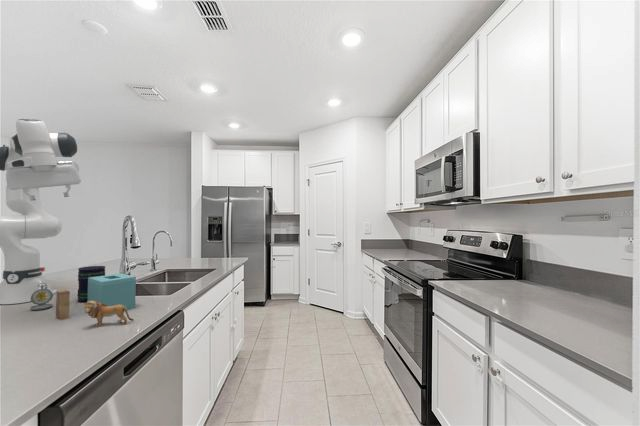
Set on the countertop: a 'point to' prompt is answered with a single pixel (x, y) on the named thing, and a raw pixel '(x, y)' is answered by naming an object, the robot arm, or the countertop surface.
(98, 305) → the lion figurine
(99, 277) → the money box
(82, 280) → the storage jar
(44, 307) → the pocket watch
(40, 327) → the countertop surface
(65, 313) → the block
